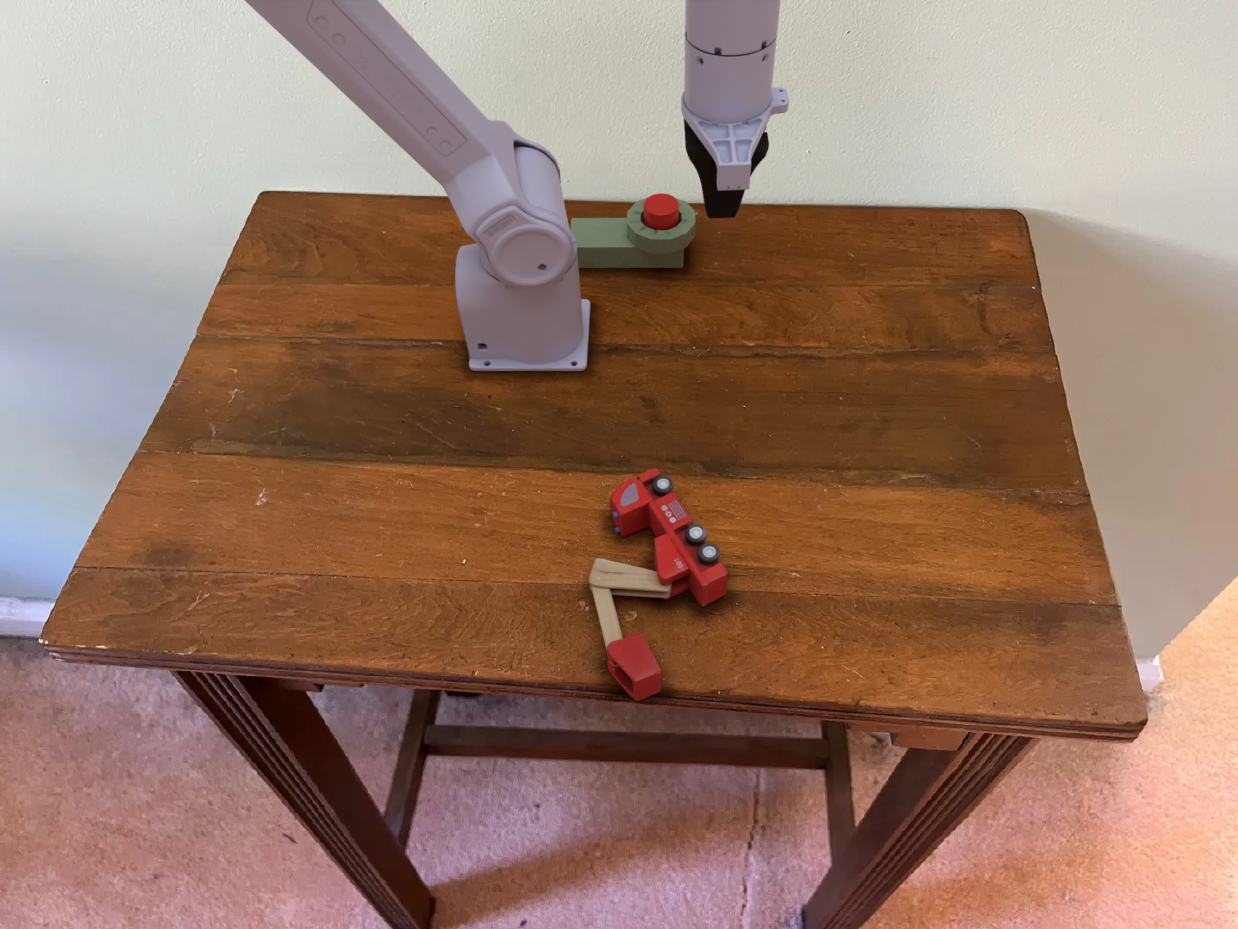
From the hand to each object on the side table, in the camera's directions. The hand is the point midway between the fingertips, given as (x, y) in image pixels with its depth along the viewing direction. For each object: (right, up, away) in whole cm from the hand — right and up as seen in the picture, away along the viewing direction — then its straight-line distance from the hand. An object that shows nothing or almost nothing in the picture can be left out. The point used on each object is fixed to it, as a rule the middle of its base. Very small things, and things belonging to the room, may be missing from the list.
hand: (721, 212), depth 65 cm
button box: (-7, 0, +13) cm, 15 cm away
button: (-4, +2, +10) cm, 11 cm away
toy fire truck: (-1, -24, -7) cm, 25 cm away
